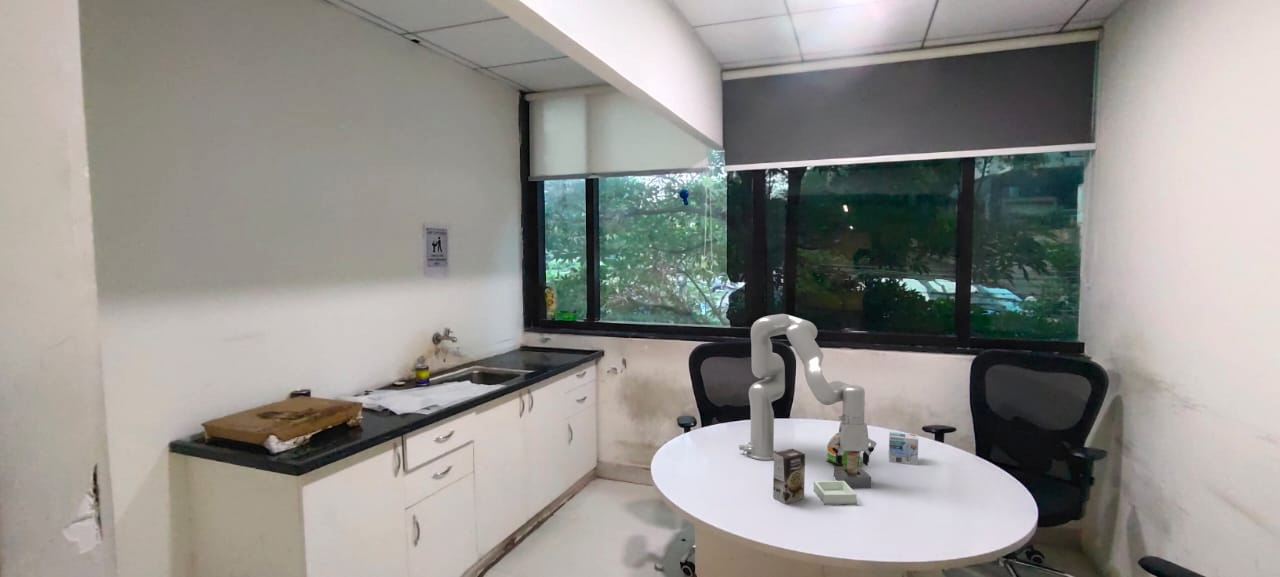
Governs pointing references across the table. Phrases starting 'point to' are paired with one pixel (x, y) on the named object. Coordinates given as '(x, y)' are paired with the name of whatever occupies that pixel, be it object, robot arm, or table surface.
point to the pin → (852, 462)
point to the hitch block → (853, 477)
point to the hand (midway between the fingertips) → (852, 464)
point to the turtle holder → (832, 454)
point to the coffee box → (789, 475)
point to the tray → (834, 492)
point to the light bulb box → (903, 448)
